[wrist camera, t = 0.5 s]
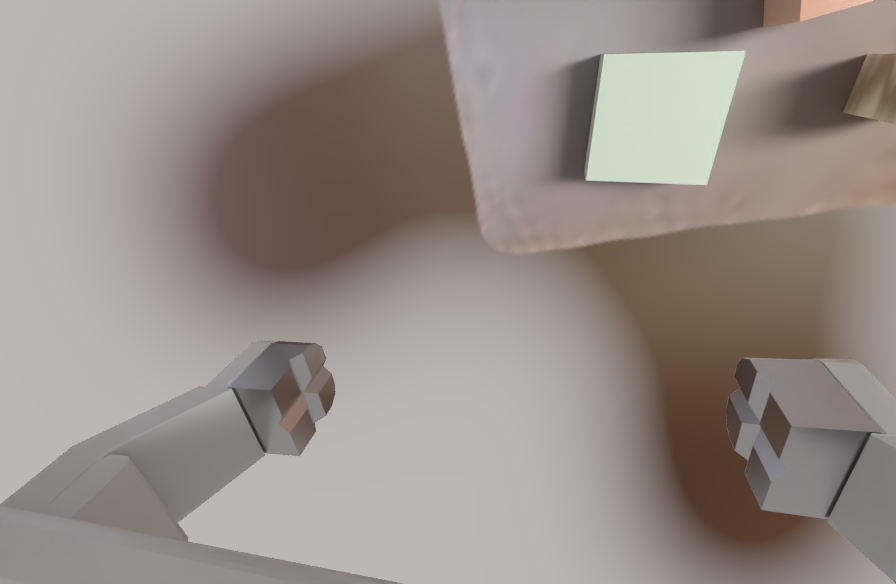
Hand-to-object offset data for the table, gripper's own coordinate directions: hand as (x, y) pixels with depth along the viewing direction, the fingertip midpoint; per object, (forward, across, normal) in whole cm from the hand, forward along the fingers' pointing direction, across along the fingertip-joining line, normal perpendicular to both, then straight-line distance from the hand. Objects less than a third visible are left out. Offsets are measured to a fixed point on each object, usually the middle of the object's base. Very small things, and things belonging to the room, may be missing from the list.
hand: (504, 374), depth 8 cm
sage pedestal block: (+45, -10, +2) cm, 46 cm away
